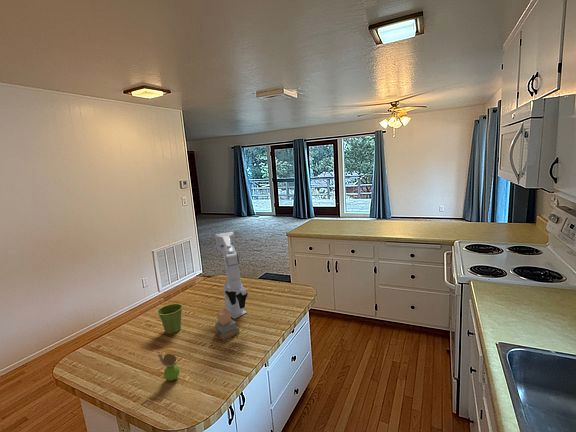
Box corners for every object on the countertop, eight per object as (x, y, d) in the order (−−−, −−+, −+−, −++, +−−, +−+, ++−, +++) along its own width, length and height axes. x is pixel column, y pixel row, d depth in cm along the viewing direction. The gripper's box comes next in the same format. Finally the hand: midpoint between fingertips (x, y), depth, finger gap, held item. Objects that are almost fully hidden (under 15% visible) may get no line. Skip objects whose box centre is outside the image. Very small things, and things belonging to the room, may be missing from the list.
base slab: (215, 335, 142) (214, 329, 142) (230, 327, 148) (229, 322, 147) (224, 341, 137) (223, 335, 136) (239, 333, 142) (238, 327, 141)
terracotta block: (218, 322, 142) (216, 312, 141) (226, 318, 144) (225, 308, 144) (222, 325, 138) (221, 315, 137) (231, 321, 141) (230, 311, 140)
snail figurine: (164, 375, 116) (159, 346, 114) (181, 373, 116) (177, 344, 114) (160, 385, 111) (154, 355, 109) (178, 383, 111) (173, 353, 109)
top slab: (216, 328, 142) (215, 322, 142) (229, 323, 146) (228, 317, 146) (223, 334, 137) (222, 328, 136) (236, 328, 141) (236, 322, 140)
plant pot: (190, 328, 150) (187, 307, 148) (167, 339, 141) (163, 317, 139) (178, 321, 158) (175, 301, 156) (156, 332, 149) (152, 310, 148)
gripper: (219, 278, 147) (222, 305, 148) (235, 283, 136) (239, 312, 138) (231, 274, 152) (235, 300, 153) (248, 279, 141) (252, 307, 142)
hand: (238, 306), depth 146 cm, fingers open, 7 cm apart
